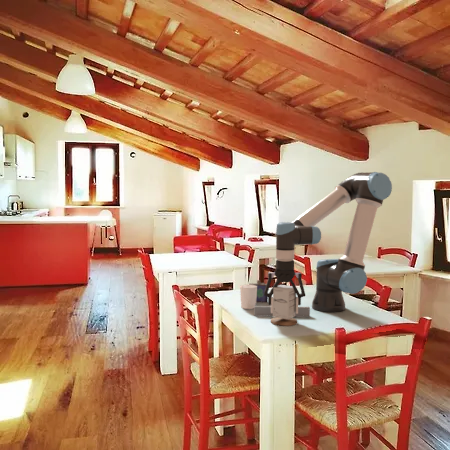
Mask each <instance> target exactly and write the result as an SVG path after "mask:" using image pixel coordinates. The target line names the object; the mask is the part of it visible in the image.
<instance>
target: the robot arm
mask: <svg viewBox="0 0 450 450" xmlns="http://www.w3.org/2000/svg"><path fill="white" fill-rule="evenodd" d="M392 190H393V184H392V181H391V179H390V177H389V176H388V175H387V174H386V173H383V172H377V171H373V172H357V173H354V174H352V175H350V176H348V177H347V178H346V179H344V180H343V181H341V182H340V183H338V184H337V185H336V186H334V190H332V191H331V192H330V193H329V194H327V195H326V196H325V197H324V198H322V199H321V200H319V201H318V202H316V203H315V204H314V205H312V206H311V207H310V208H308V209H307V210H306V211H305V212H303V213H302V214H300V215H298V217H297V218H295V219H293V220H292V221H291V222H289V221H287V222H286V221H281V222H278V223H277V224H276V231H275V235H276V238H275V239H276V242H275V244H276V245H275V259H276V260H275V271H274V272H271V271H268V276H267V277H268V278H267V281H266V283H265V284H266V288H265V291H264V296H267V297H268V302H267V304H268V306H271V313H273V288H276V287H277V286H279V285H280V284H281V283H290V284H291V285H290V286H292V287H293V288H294V290H295V292H296V311H295V312H296V314H298V307H299V306H301V305H302V297H305V296H306V291H305V288H304V284H303V280H302V272H295V246H298V245H299V246H301V245H303V246H304V245H312V246H313V245H316V244H319V243H320V242H321V240H322V239H321V238H322V232H321V229H320V228H319V227H318V226H316V225H318V224H319V223H320V222H321V221H323V220H324V219H325V218H327V217H328V216H330V214H332V213H333V212H335V211H336V210H338V209H339V208H340V207H341V206H343V205H344V204H349V203H351V201H354V200H355V202H356V203H357V204H356V208H355V213H354V216H353V219H352V223H351V227H350V231H349V234H348V237H347V242H346V245H345V248H344V251H343V255H342V256H340V257H339V258H328V259H326V258H325V259H318V260H317V262H316V268H315V270H316V283H315V284H316V289H315V294H314V297H313V299H312V302H311V307H312V309H314V310H316V311H319V312H325V313H326V312H327V313H340V312H343V311H346V302H345V299H344V295H343V293H345V294H350V295H351V294H352V295H353V294H357V293H359V292H361V291H362V290H363V289H364V288H365V287H366V286H367V285H366V284H367V282H368V275H367V274H366V271H365V267H366V264H365V263H364V257H365V254H366V250H367V247H368V243H369V240H370V237H371V232H372V229H373V227H374V221H375V219H376V214H377V211H378V208H380V207H382V206H383V203H384V200H386V199H388V198H389V197H390V196H391V194H392V192H393V191H392ZM274 276H275V277H276V280H275V281H274V284H273V285H272V287H271V282H272V280H273V278H274ZM294 277H296V278H297V280H298V284H299V285H298V286H299V289H300V291H301V293H300V291H299V290H298V288H297V286H296V284H295V282H294V280H293V278H294ZM270 287H271V289H270ZM269 290H270V291H269Z"/></svg>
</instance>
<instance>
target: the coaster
mask: <svg viewBox="0 0 450 450" xmlns="http://www.w3.org/2000/svg"><path fill="white" fill-rule="evenodd" d="M270 323H271V324H272V325H274V326H278V325H279V326H280V327H291V326H292V327H293V326H295V325H298V320H297V319H296V318H294V317H292V318H290V319H283V318H278V317H272V318H271V319H270Z"/></svg>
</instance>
